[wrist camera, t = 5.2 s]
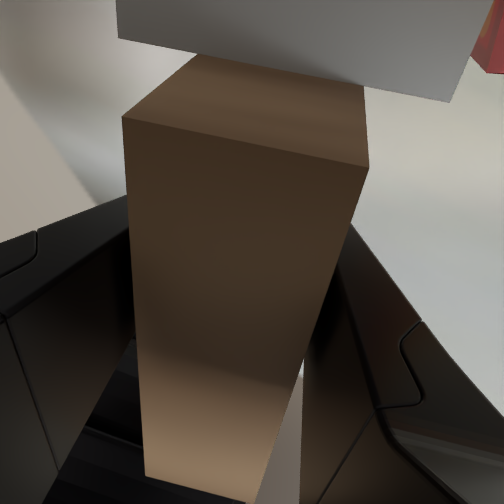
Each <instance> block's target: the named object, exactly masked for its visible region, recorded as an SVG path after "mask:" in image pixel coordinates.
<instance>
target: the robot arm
mask: <svg viewBox="0 0 504 504" xmlns="http://www.w3.org/2000/svg"><path fill="white" fill-rule="evenodd" d="M421 321H422V319H421V317H420V316H419V314H418V313H417V312H416V310H415V309H414V308H413V306H412V305H411V304H410V302H409V301H408V300H407V298H406V297H405V296H404V294H403V293H402V291H401V290H400V289H399V287H398V286H397V285H396V283H395V282H394V281H393V279H392V278H391V277H390V275H389V274H388V273H387V271H386V270H385V268H384V267H383V266H382V264H381V263H380V262H379V260H378V259H377V258H376V256H375V255H374V254H373V252H372V251H371V250H370V248H369V247H368V245H367V244H366V243H365V241H364V240H363V239H362V237H361V236H360V235H359V233H358V232H357V231H356V229H355V228H354V227H353V225H352V224H351V223H350V226H349V229H348V232H347V234H346V237H345V240H344V243H343V246H342V249H341V252H340V255H339V258H338V261H337V264H336V266H335V269H334V272H333V275H332V278H331V281H330V284H329V287H328V290H327V293H326V295H325V298H324V301H323V304H322V307H321V310H320V313H319V316H318V319H317V322H316V324H315V327H314V330H313V333H312V336H311V339H310V342H309V345H308V348H307V351H306V354H305V356H304V374H303V405H302V407H303V408H302V438H301V468H300V499H299V500H300V501H299V504H504V417H503V416H502V415H501V413H500V412H499V411H498V410H497V409H496V408H495V407H494V406H493V405H492V403H491V402H490V401H489V400H488V399H487V398H486V397H485V396H484V394H483V393H482V392H481V391H480V390H479V389H478V388H477V387H476V386H475V384H474V383H473V382H472V381H471V380H470V379H469V377H468V376H467V375H466V374H465V373H464V372H463V370H462V369H461V368H460V367H459V366H458V365H457V363H456V362H455V361H454V360H453V359H452V358H451V356H450V355H449V354H448V353H447V351H446V350H445V349H444V347H443V346H442V345H441V344H440V342H439V341H438V340H437V338H436V337H435V336H434V335H433V333H432V332H431V330H430V329H429V328H428V326H427V325H426V324H425V322H423V321H422V322H421ZM245 503H246V502H243V501H239V500H235V499H231V498H228V497H224V496H220V495H216V494H212V493H209V492H205V491H201V490H197V489H193V488H190V487H186V486H182V485H178V484H174V483H171V482H167V481H163V480H159V479H155V478H152V477H148V476H145V463H144V448H143V432H142V417H141V402H140V387H139V372H138V357H137V341H136V326H135V311H134V296H133V281H132V266H131V250H130V235H129V220H128V205H127V195H124V196H122V197H119V198H117V199H114V200H111V201H109V202H106V203H104V204H101V205H98V206H96V207H93V208H91V209H88V210H86V211H83V212H80V213H78V214H75V215H73V216H70V217H67V218H65V219H62V220H60V221H57V222H54V223H52V224H49V225H47V226H44V227H41V228H39V229H38V230H37V232H36V231H31V232H29V233H26V234H24V235H21V236H18V237H15V238H13V239H10V240H7V241H4V242H2V243H0V504H245Z"/></svg>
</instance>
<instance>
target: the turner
mask: <svg viewBox="0 0 504 504" xmlns="http://www.w3.org/2000/svg"><path fill="white" fill-rule="evenodd" d="M493 1H494V0H116V12H117V28H118V38H120V39H125V40H130V41H135V42H141V43H146V44H151V45H156V46H161V47H166V48H171V49H176V50H182V51H187V52H192V53H197V55H196V56H194V57H193V58H192V59H191V60H190V61H188V62H187V63H186V64H185V65H184V66H182V67H181V68H180V69H179V70H177V71H176V72H175V73H174V74H173V75H171V76H170V77H169V78H168V79H167V80H165V81H164V82H163V83H162V84H160V85H159V86H158V87H157V88H156V89H154V90H153V91H152V92H151V93H149V94H148V95H147V96H146V97H145V98H143V99H142V100H141V101H140V102H139V103H137V104H136V105H135V106H134V107H132V108H131V109H130V110H129V111H128V112H126V113H125V114H124V115H123V116H122V129H123V144H124V159H125V175H126V190H127V205H128V220H129V235H130V250H131V266H132V281H133V296H134V311H135V326H136V341H137V357H138V372H139V387H140V402H141V417H142V432H143V448H144V463H145V476H148V477H152V478H155V479H159V480H163V481H167V482H171V483H174V484H178V485H182V486H186V487H190V488H193V489H197V490H201V491H205V492H209V493H212V494H216V495H220V496H224V497H228V498H231V499H235V500H239V501H243V502H247V503H250V504H254V501H255V499H256V496H257V493H258V490H259V487H260V484H261V481H262V478H263V475H264V472H265V470H266V467H267V464H268V461H269V458H270V455H271V452H272V449H273V446H274V443H275V441H276V437H277V435H278V432H279V429H280V426H281V423H282V420H283V417H284V414H285V412H286V408H287V406H288V402H289V400H290V397H291V394H292V391H293V388H294V385H295V382H296V380H297V377H298V374H299V371H300V368H301V365H302V362H303V359H304V356H305V354H306V351H307V348H308V345H309V342H310V339H311V336H312V333H313V330H314V327H315V324H316V322H317V319H318V316H319V313H320V310H321V307H322V304H323V301H324V298H325V295H326V293H327V290H328V287H329V284H330V281H331V278H332V275H333V272H334V269H335V266H336V264H337V261H338V258H339V255H340V252H341V249H342V246H343V243H344V240H345V237H346V234H347V232H348V229H349V226H350V223H351V220H352V217H353V214H354V211H355V208H356V205H357V203H358V200H359V197H360V194H361V191H362V188H363V185H364V182H365V179H366V176H367V173H368V171H369V155H368V141H367V127H366V113H365V99H364V86H366V87H371V88H376V89H381V90H386V91H391V92H397V93H402V94H407V95H412V96H417V97H422V98H427V99H432V100H437V101H443V102H448V103H450V101H451V99H452V96H453V94H454V92H455V89H456V87H457V85H458V82H459V80H460V78H461V75H462V73H463V71H464V68H465V66H466V64H467V62H468V59H469V57H470V55H471V52H472V50H473V48H474V45H475V43H476V41H477V38H478V36H479V34H480V31H481V29H482V27H483V24H484V22H485V20H486V18H487V15H488V13H489V11H490V8H491V6H492V4H493Z"/></svg>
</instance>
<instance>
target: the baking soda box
mask: <svg viewBox="0 0 504 504" xmlns="http://www.w3.org/2000/svg"><path fill="white" fill-rule="evenodd" d="M470 56H471V57H472V58H473V59H474V60H475V61H476V62H477V63H478V64H479V65H480V67H481V68H482V69H483V70H484V71H485V72H486V73H493V74H504V0H494V1H493V4H492V6H491V8H490V11H489V13H488V15H487V18H486V20H485V22H484V24H483V27H482V29H481V31H480V34H479V36H478V38H477V41H476V43H475V45H474V48H473V50H472V52H471V55H470Z"/></svg>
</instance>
